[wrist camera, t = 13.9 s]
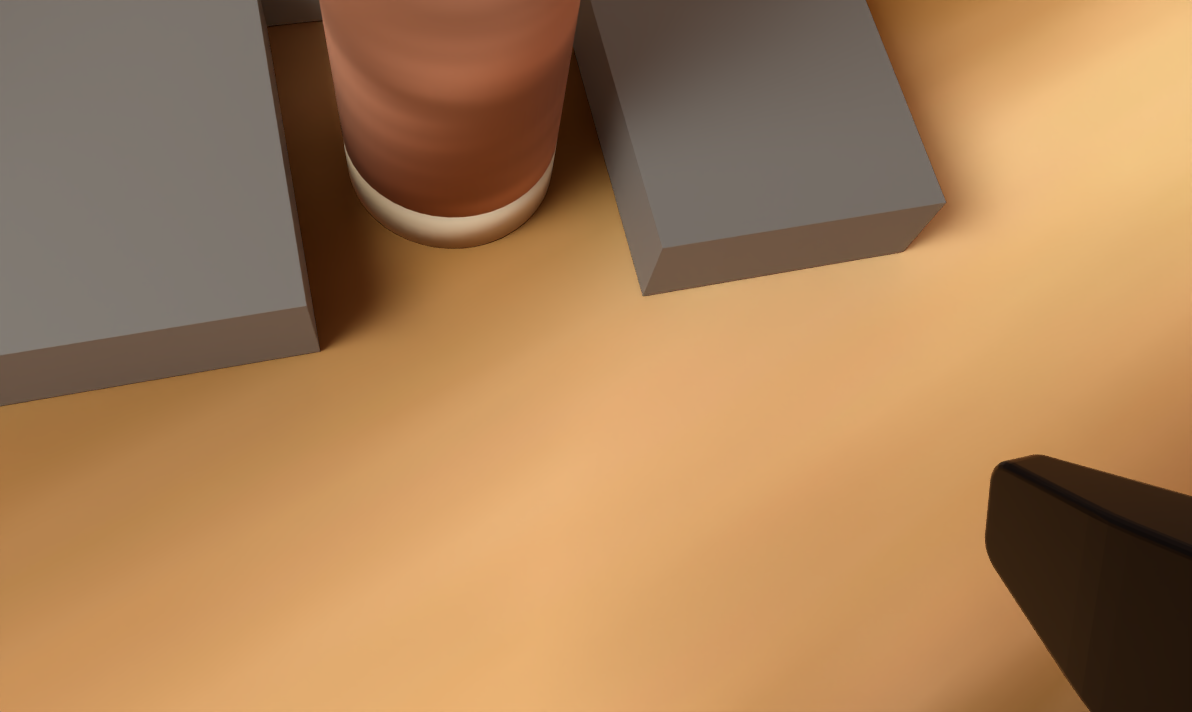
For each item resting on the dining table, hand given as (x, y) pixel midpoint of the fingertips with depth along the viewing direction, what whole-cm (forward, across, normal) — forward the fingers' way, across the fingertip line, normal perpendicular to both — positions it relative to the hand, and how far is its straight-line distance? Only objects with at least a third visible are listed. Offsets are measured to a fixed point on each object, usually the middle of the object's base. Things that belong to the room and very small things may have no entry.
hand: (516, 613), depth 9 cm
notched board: (+21, -2, -2) cm, 21 cm away
